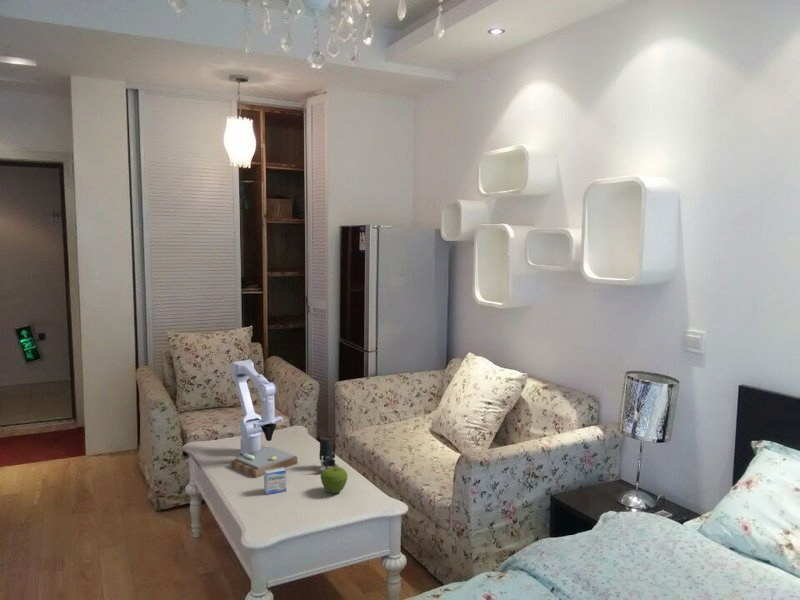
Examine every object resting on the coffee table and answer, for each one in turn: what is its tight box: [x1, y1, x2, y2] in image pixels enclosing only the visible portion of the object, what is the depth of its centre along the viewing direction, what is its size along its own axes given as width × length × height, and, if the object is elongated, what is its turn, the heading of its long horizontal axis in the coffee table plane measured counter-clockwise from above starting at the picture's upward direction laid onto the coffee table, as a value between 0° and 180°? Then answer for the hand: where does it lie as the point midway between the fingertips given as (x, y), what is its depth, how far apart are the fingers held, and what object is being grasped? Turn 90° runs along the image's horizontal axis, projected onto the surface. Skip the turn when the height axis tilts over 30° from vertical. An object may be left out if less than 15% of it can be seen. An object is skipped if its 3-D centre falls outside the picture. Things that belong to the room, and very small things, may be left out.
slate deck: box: [235, 446, 295, 469], centre depth 269 cm, size 17×19×3 cm
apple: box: [320, 466, 349, 494], centre depth 240 cm, size 11×10×10 cm
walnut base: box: [231, 455, 298, 478], centre depth 269 cm, size 18×22×3 cm
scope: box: [318, 435, 340, 473], centre depth 264 cm, size 8×14×10 cm
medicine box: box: [263, 467, 287, 495], centre depth 241 cm, size 8×4×9 cm, turn 117°
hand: (268, 440), depth 271 cm, fingers closed
